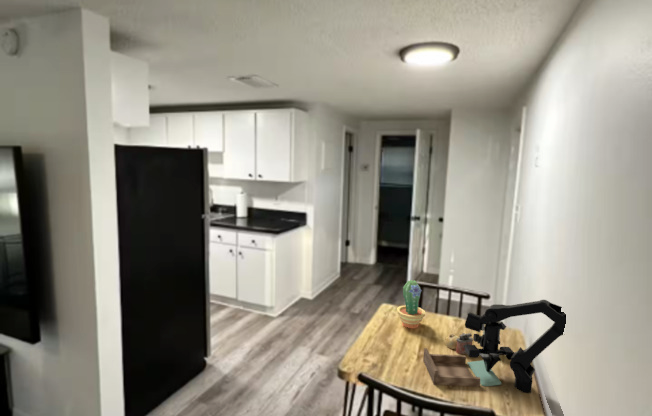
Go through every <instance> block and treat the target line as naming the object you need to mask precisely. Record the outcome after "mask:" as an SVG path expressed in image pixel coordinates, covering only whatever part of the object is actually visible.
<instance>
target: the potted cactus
mask: <svg viewBox="0 0 652 416" xmlns="http://www.w3.org/2000/svg"><path fill="white" fill-rule="evenodd" d="M421 293H422V289H421V287H420V285H419V284H418V282H417V281H416V280H415V279H413V280H412V279H410V280H408V281H407V282H406V283H405V284H404V285H403V287H402V295H403V298H404V302H405V305H400V306H398V307H397V308H396V310H397V314H398V316H399V317H398V318H399V319H400V321H401V325H402V326H403V327H404V326H405V328H407V327H408V328H407V329H418V328H419V324H421V322H422V321H423V319H424V318H425V316H426V311H425V309H423V308H421V307H419V301H420V298H421Z"/></svg>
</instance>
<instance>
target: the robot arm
mask: <svg viewBox="0 0 652 416" xmlns="http://www.w3.org/2000/svg"><path fill="white" fill-rule="evenodd" d="M562 307H563V306H560V305H558V304H555V303H553V302H550V301H549V300H547V299H540V300H538V301H537V300H536V301H531V302H524V303H518V304H517V303H515V304H511V305H507V304H496V303H495V304H491V305H490V306H489V307H488V308H487V309H486V310H485V311H484V313H483V314H482V315H478V314H476V313H473V312H470V311H469V312H468V313H467V317H466V319H465V321H464V328H466V329H467V330H471V331H474V332H477V333H473V334H472V335H473V337H472V338H473V342H474V343H475V342H476V343H477V344H479V346H480V348H479V347H477V346H476V345H475V344H472V345H466V346H465V351H466V354H467V356H468V357H469V358H472V359H473V358H475V359H477V358H479V357H480V358H481V360H484V364H485V368H486V371H487V372H489V371H490V370H491V369H493V367H494V366H495V365H497V363H498V362H501V361H502V359H501V357H500V356H505V358H506V359H507V361H508V360H510V362H509V367H510V369H511V371H512V372H513V376H514V387H515V389H517V390H518V391H520V392H521V393H522V394H525V393H526V394H532V387H533V375H534V373H535V371H536V369H535V367H534V366H533V365H532V362H533V361H534V360H535V359H536V358H537V357H538V356H539V355H540V354H541V353H542V352H543V351H545V350H546V349H547V348H548V347H549V346H550V345H552V343H554V342H555V341H556V340H557V339H558V338H559V337H561V336H564V335H563V332H564V328H565V324H566V314H565V313H564V312H561V308H562ZM532 314H533V315H534V314H543V315H545V316H546V317H547V318H549V320H551V321H552V322H553V324H552V325H551V326H550V327H549V328H548V329H547V330H546V331H545V332H543V333H542V335H540V336H539V337H538V338H537V339H536V340H535V341H534V342H533V343H532V344H530V346H528V347H526V348H525V349H523V348H522V347H519V349H518V350H517V351H513V349H511V347H510V346H499V345H501V341H500V340H499V336H500V337H501V330H502V331H504V330H506V328H507V325H506V324H505V323H504V320H506V319H509V318H512V317H519V316H526V315H532ZM484 326H485V331H484V335H483V334H482V335H480V334H479V333H481V331H482V332H483V330H484Z"/></svg>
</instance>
